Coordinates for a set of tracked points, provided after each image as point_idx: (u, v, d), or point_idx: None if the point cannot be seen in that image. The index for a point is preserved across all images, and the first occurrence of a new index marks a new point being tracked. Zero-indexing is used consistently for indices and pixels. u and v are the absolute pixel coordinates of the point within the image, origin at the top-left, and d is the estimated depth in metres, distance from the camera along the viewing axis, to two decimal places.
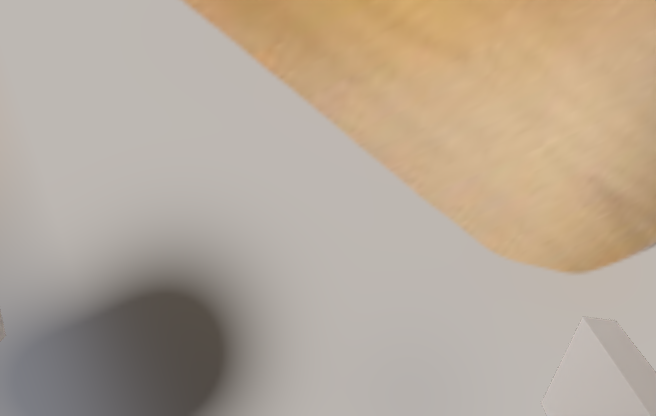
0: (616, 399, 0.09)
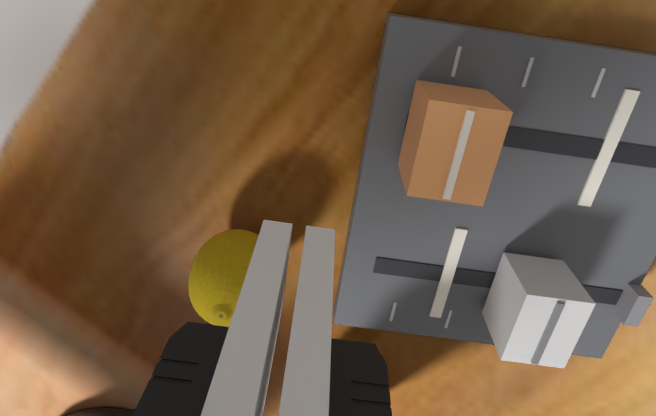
0: None
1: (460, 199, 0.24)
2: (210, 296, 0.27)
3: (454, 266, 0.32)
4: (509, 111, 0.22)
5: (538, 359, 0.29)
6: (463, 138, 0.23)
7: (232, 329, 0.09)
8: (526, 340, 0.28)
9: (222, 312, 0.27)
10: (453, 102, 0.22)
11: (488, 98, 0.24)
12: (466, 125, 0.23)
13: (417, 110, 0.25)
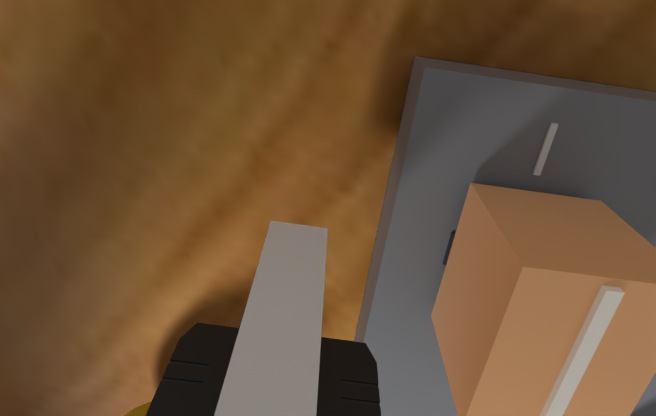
0: None
1: None
2: None
3: None
4: None
5: None
6: (592, 340, 0.11)
7: (242, 331, 0.09)
8: None
9: None
10: (573, 269, 0.10)
11: (622, 234, 0.12)
12: (601, 317, 0.10)
13: (480, 255, 0.13)
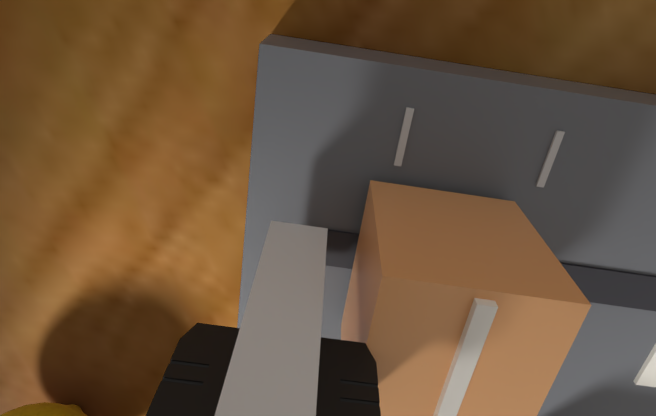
0: None
1: None
2: None
3: None
4: (581, 301, 0.09)
5: None
6: (468, 359, 0.09)
7: (243, 330, 0.09)
8: None
9: None
10: (443, 279, 0.09)
11: (522, 239, 0.11)
12: (475, 334, 0.09)
13: (366, 261, 0.11)
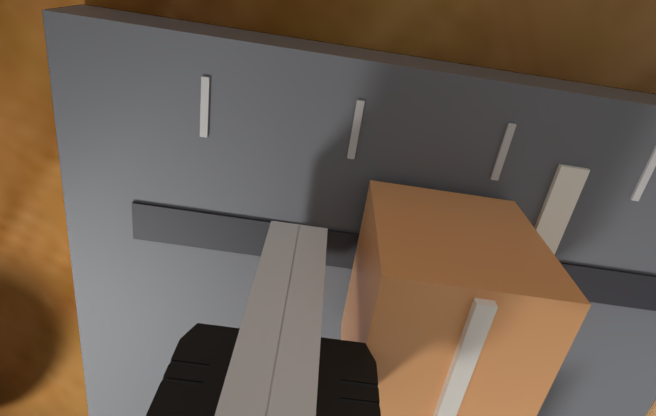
0: None
1: None
2: None
3: None
4: (581, 301, 0.09)
5: None
6: (468, 359, 0.09)
7: (243, 330, 0.09)
8: None
9: None
10: (443, 279, 0.09)
11: (522, 239, 0.11)
12: (475, 334, 0.09)
13: (366, 260, 0.11)
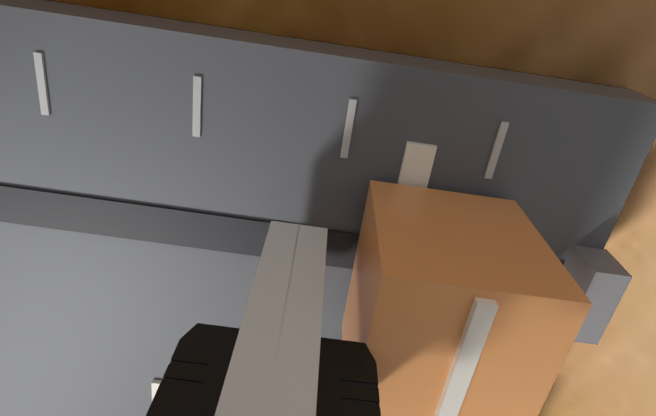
0: None
1: None
2: None
3: None
4: (582, 300, 0.09)
5: None
6: (469, 359, 0.09)
7: (243, 330, 0.09)
8: None
9: None
10: (443, 278, 0.09)
11: (522, 238, 0.11)
12: (476, 334, 0.09)
13: (366, 261, 0.11)
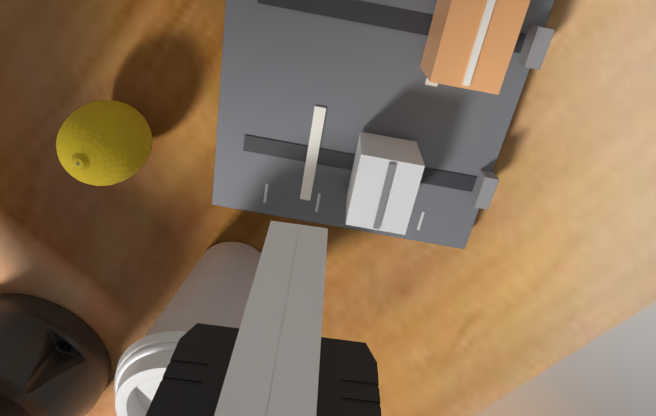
0: None
1: (478, 87, 0.27)
2: (69, 145, 0.29)
3: (317, 145, 0.34)
4: (527, 0, 0.25)
5: (378, 223, 0.31)
6: (485, 25, 0.25)
7: (243, 330, 0.09)
8: (366, 204, 0.31)
9: (79, 160, 0.29)
10: None
11: None
12: (487, 12, 0.25)
13: (442, 5, 0.27)
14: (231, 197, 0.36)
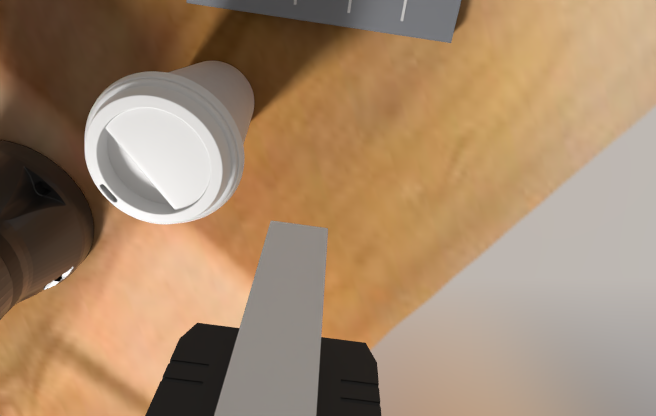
0: None
1: None
2: None
3: None
4: None
5: None
6: None
7: (242, 331, 0.09)
8: None
9: None
10: None
11: None
12: None
13: None
14: None
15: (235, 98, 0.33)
